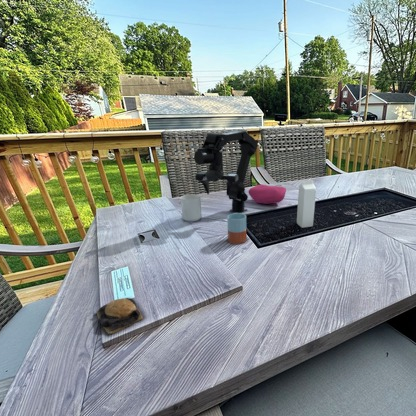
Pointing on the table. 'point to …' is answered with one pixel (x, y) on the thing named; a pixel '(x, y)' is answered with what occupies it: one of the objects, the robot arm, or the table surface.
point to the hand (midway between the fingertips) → (217, 194)
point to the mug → (191, 207)
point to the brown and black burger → (118, 315)
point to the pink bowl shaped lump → (267, 194)
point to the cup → (237, 237)
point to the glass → (236, 222)
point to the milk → (306, 203)
